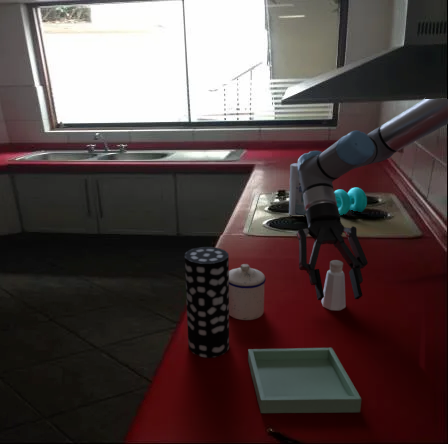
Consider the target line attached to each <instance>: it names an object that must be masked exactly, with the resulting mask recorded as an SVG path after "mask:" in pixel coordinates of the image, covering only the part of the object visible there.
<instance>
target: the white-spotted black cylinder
mask: <svg viewBox="0 0 448 444" xmlns="http://www.w3.org/2000/svg"><path fill="white" fill-rule="evenodd" d="M229 257H230V256H229V253H228V251H227V250H225V249H222V248H220V247H215V246H202V247H195V248H191V249H189V250H188V251H187V250H186V252H185V253H184V271H185V272H184V273H185V276H184V277H185V297H186V298H185V299H186V322H187V345H188V350H189V351H190V352H191V353H192V354H194V355H196V356H198V357H201V358H206V359H207V358H209V359H210V358H212V359H213V358H218V357H221V356H223V355H225V354H226V353H227V352H228V351H229V349H230V315H229V271H230V269H229V268H230V265H229V263H230V261H229V260H230V259H229Z"/></svg>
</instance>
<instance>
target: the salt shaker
mask: <svg viewBox="0 0 448 444" xmlns="http://www.w3.org/2000/svg"><path fill="white" fill-rule="evenodd" d="M343 268H344V262H343V261H342V260H339V259H333V260H331V261H329V269H328V270H327V271H326V275H325V279H324V285H323V293H324V297H323V298H322V299H321V300H320V303H321V306H322V307H323V308H325V309H327V310H329V311H342V310H344V309H346V307H347V304H346V276H345V275H346V274H345V272H344V271H343Z"/></svg>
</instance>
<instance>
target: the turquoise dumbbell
mask: <svg viewBox="0 0 448 444" xmlns="http://www.w3.org/2000/svg"><path fill="white" fill-rule="evenodd" d="M334 193H335V198H336V202H337V205H336V206H337V207H338V211H339V214H340V216H344V215H346V214H348V212H350V211H351V210H353V211H358V212H361V213H362V212H364V211H365V210H366V207H367V204H368V197H367V194H366V192H365V191H364V190H363V189H362V188H361V187H351V188H350V189H349V190H348V192H347V191H346V190H344V189H342V188H341V189H339V188H338V189H336V190H334ZM343 214H344V215H343Z"/></svg>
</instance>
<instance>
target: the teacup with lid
mask: <svg viewBox="0 0 448 444" xmlns="http://www.w3.org/2000/svg"><path fill="white" fill-rule="evenodd" d="M266 278H267V277H266V276H265V274H264V273H263V272H262V271H260V269H259V270H258V269H257V268H252V267H251V266H250V265H249V264H248V263H243V264H240V267H237V268H232V269H229V317H232V318H233V319H237V320H240V321H253V320H256V319H259V318H261V317H262V316H263V314H264V312H265V283H266Z"/></svg>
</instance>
